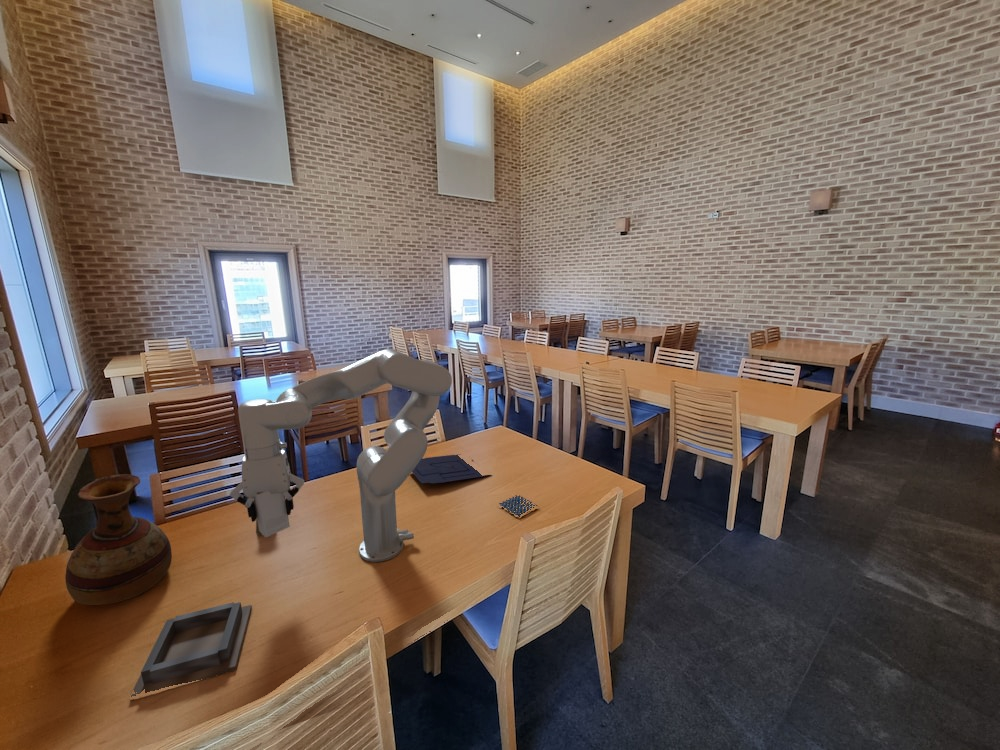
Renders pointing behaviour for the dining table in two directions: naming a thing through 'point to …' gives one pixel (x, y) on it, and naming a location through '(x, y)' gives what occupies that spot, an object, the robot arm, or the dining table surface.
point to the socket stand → (195, 647)
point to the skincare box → (271, 513)
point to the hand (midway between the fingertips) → (272, 514)
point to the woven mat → (516, 505)
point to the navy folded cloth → (444, 469)
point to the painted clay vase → (116, 547)
